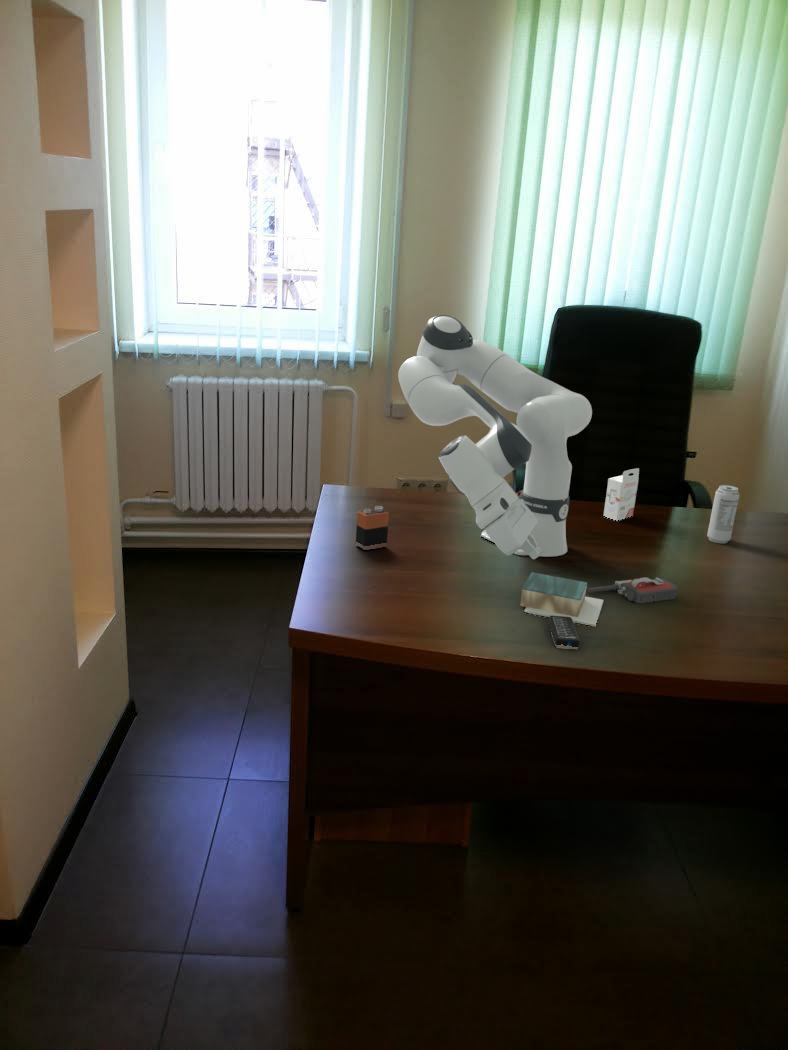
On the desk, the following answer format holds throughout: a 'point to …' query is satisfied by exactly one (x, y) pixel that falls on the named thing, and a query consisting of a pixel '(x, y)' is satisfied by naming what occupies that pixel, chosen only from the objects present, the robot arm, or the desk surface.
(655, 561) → the desk surface
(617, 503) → the ink cartridge box
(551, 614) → the mat
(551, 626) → the multiport hub
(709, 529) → the energy drink can
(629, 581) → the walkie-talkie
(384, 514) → the battery
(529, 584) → the beige rectangular block
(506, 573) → the desk surface
